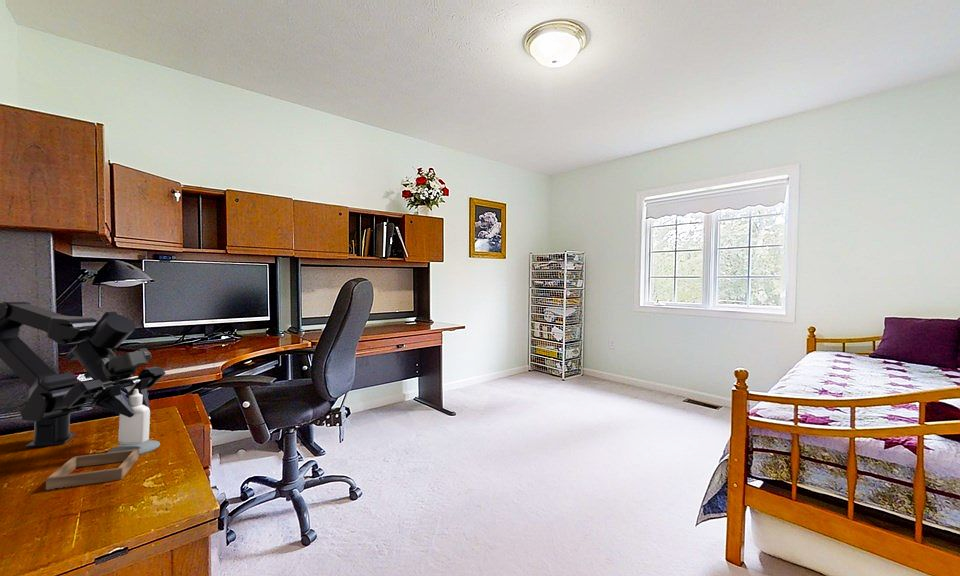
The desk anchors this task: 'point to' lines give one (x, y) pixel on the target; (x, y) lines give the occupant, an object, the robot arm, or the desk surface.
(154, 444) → the rubber coaster
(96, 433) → the desk surface
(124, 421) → the eye dropper bottle
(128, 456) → the walnut collar
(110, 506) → the desk surface
